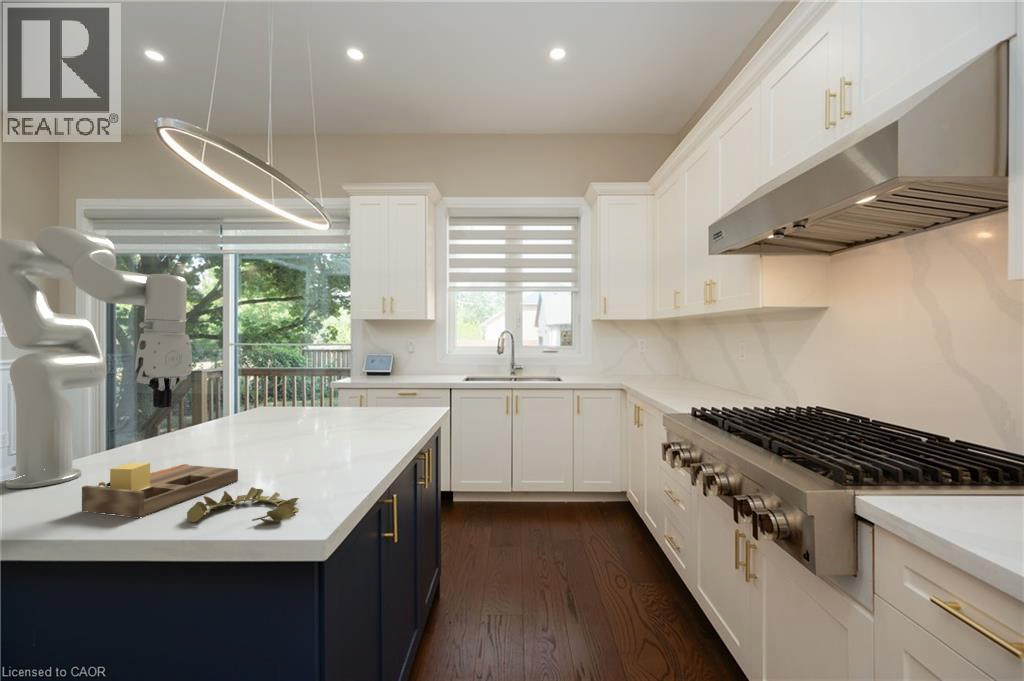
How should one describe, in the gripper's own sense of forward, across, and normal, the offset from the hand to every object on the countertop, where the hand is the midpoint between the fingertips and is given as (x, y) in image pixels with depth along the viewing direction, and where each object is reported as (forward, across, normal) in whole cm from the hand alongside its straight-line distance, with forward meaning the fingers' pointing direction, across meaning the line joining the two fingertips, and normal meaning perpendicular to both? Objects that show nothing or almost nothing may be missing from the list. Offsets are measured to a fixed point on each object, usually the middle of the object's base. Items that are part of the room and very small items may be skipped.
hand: (162, 406), depth 100 cm
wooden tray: (+19, -2, -6) cm, 20 cm away
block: (+16, -8, -3) cm, 18 cm away
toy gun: (+20, +6, +11) cm, 24 cm away
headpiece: (+19, -5, -31) cm, 37 cm away
